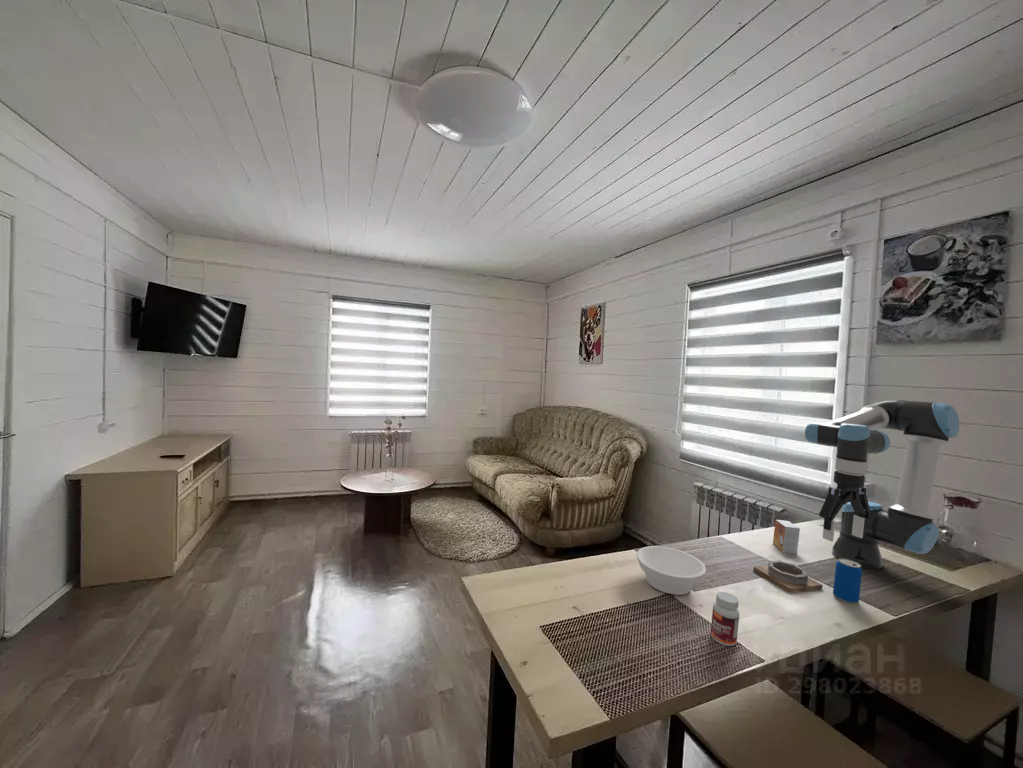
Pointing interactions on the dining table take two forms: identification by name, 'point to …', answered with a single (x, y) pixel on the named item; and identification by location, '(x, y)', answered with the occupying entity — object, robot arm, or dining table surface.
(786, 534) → the small box
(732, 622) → the pill bottle
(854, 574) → the beverage can
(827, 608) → the dining table surface
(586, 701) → the dining table surface
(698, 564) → the bowl
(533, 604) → the dining table surface
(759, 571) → the socket
